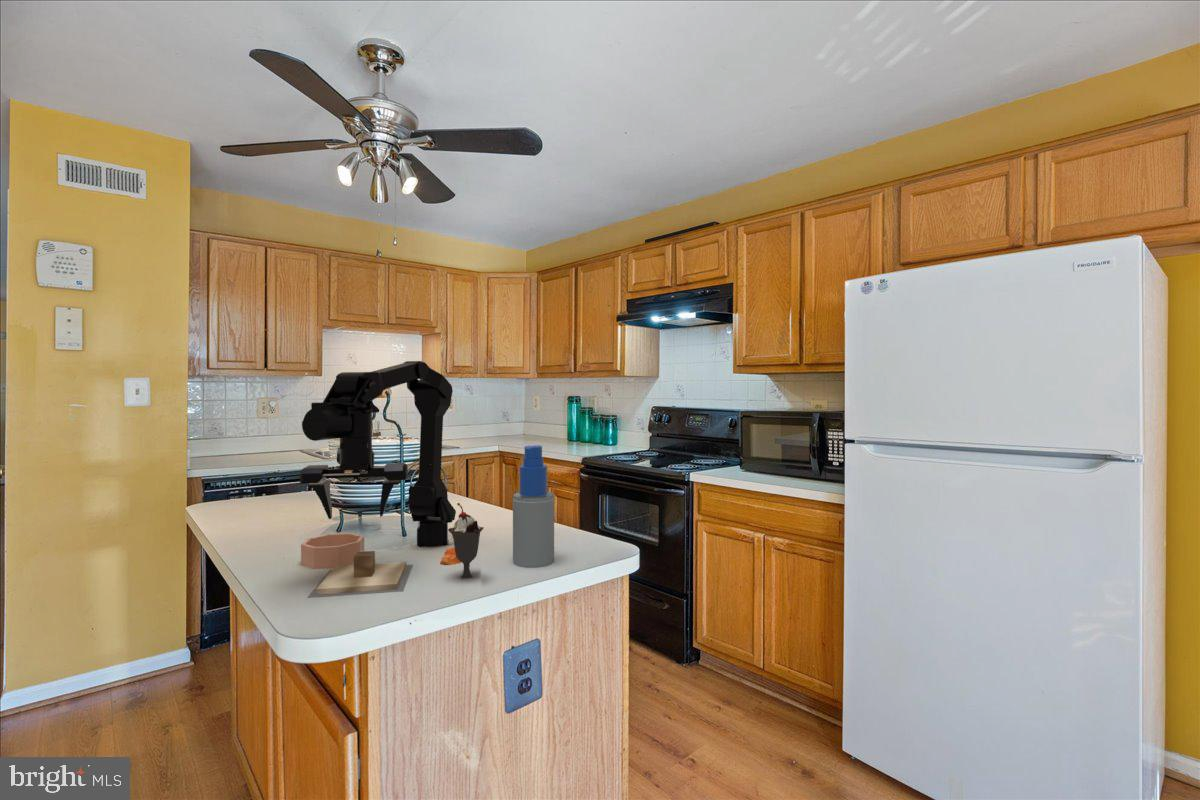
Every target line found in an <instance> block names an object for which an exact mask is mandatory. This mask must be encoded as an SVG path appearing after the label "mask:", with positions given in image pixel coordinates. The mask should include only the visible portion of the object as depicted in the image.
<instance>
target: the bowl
mask: <svg viewBox="0 0 1200 800" xmlns="http://www.w3.org/2000/svg"><path fill="white" fill-rule="evenodd" d="M364 551H365V536H364V535H362V534H356V533H352V532H346V533H329V534H327V533H326V534H323V535H319V536H315V537H310V538H307V539H306V540H304V541H303V542H302V544H300V559H301V560H300V565H301V566H303V567H307V568H310V569H313V570H316V569H317V570H318V569H319V570H320V569H333V568H334V567H335V566H345V565H354V556H355V554H356V553H357V552H364Z"/></svg>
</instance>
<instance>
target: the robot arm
mask: <svg viewBox="0 0 1200 800" xmlns="http://www.w3.org/2000/svg"><path fill="white" fill-rule="evenodd" d="M403 384H406V387H407V390H408V391H410V393H411V394H412V395H413V398H414V399H413V400H414V405H415V408H416V409H417V412H418V413H419V415H420V431H419V432H420V435H419V436H420V437H419V458H418V459H419V460H418V478H417V480H416V482H415V483H414V484H413V485H410V486H409V488H408V501H407V504H408V508H409V511H410V512H409V513H410V515H411V519H412V522H419V524H418V525H419V526H417V529H416V546H417V547H419V548H424V547H425V548H437V547H445V546H449V544H450V543H449V542H450V540H449V531H448V529H449V524H450V523H453V521H455V519H456V514H457V510H456V508H454V506H453V505H452V504H451V502H450V501H449V498H448V496H449V495H448V488H447V487H446V485H445V483H444V481H443V479H442V456H443V451H442V450H443V429H444V428H443V427H444V423H443V422H444V417H445V414H446V413H447V412H448V410H449V408H450V407H451V403H452V398H453V386H452V384H451V383H450V382H449V380H448V379H447V378H446V377H445V376H444V375H443V374H441V373H440V372H438V371H436V370H435V369H432V368H431V367H430V366H429V365H428V364H427V363H426V362H425V361H422V360H412V361H411V360H406V361H403V362H402V363H398V364H395V365H391V366H388V367H384V368H380V369H377V370H373V371H355V372H354V371H347V372H346V371H345V372H340V373H338V374H336V376H335V380H334V382H333V384H332V385H331V386H330V389H329V391H328V393H327V394H326V396H325V397H324V399H323V401H322V402H311V403H310V404H311V405H310V406H311V408H310V409H309V410H308V411H306V413H305V415H304V417H303V418H302V419H303V420H302V421H301V426H302V427H301V429H302V433H304V435H305V437H306V438H307V439H308V440H311V441H313V442H315V441H316V442H318V441H327V440H328V441H329V440H337V439H339V447H337V451H336V462H337V465H339V468H329V465H328V464H315V465H314V464H312V465H311V464H308V465H307V466H305V467H303V468H302V469H301V470H300V472H299V484H301V485H302V484H308V485H307V488H308V489H313V491H314V493H316V495H317V498H319V500H320V502H321V505H322V507H323V509H324V511H325V514H326V517H327V518H328V519H329V520H331V519H333V504H332V496H331V495H332V494H331V480H329V479H350V478H353V479H355V478H380V477H381V478H382V477H383V479H384V481H382V484H381V485H382V486H381V494H380V495H381V496H380V504H379V516H380V518H381V517H383V516H384V513H385V510H386V506H387V504H388V500H389V497H390V494H391V492H392V490H393V488H394V486H397V485H399V484H400V483H401V481H405V480H407V478H408V476H409V474H408V473H409V471H408V470H409V469H408V468H409V467H408V464H407V463H406V462H390V463H389V462H387V463H386V464H385V465H384V466H382V467H378V466H377V467H375V453H374V450H373V441H372V439H373V424H372V423H373V420H372V419H373V417H372V415H373V414H374V413H375V414H376V413H380V409H379V407H377V406H376V405H375V404H374V403H373V401H374V400H375V399H377V398H379V397H380V396H381V395H383V394H384V393H383V392H384V391H385V390H388V389H391V388H393V387H396V386H399V385H403ZM430 464H431V465H430ZM346 471H351V472H346Z"/></svg>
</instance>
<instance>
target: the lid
mask: <svg viewBox="0 0 1200 800" xmlns="http://www.w3.org/2000/svg"><path fill="white" fill-rule="evenodd" d="M375 561H376V551H375V550H369V551H365V550H364V552H357V553H356V554H355V556H354V563H353V564H349V565H345V566H335V567H334V568H331V569H332V571H331V572H330V573H329V574H328V575H327V577H326V578H325V579H324V580H323V582H322V583H321V584H320V585H319V586H318V588H317V589H316V595H321V594H335V593H350V592H365V591H379V590H394V589H397V588H398V586H399V583H400V581H401V578H402V576H403V574H404V571H405V569H406V565H407V561H400V562H399V561H397V562H396V561H395V562H382V563H381V562H379V563H376V562H375Z"/></svg>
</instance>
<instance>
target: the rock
mask: <svg viewBox="0 0 1200 800" xmlns="http://www.w3.org/2000/svg"><path fill="white" fill-rule="evenodd" d="M461 563H462V562H461V561H459V560H458V558H457V557H456V553H455V548H454V547H448V548H446V549H445V551H444V554H443V556H442V557H441V558H440V562H439V564H440V565H448V566H452V565H458V564H461Z"/></svg>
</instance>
